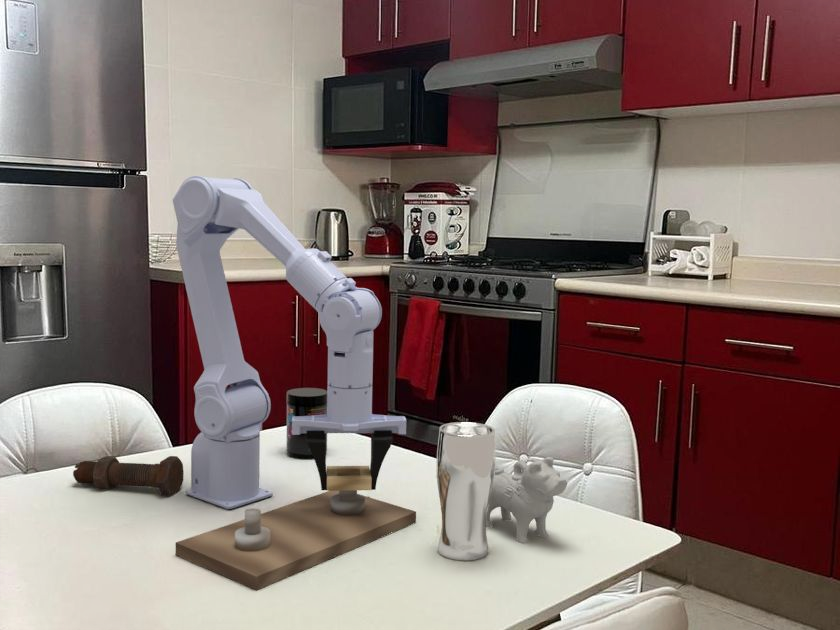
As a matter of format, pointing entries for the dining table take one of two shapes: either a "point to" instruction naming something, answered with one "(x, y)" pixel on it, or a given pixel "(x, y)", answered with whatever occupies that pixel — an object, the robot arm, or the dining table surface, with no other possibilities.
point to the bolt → (132, 474)
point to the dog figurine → (526, 495)
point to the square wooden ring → (348, 478)
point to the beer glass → (465, 488)
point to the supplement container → (303, 405)
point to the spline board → (293, 536)
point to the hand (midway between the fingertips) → (348, 487)
